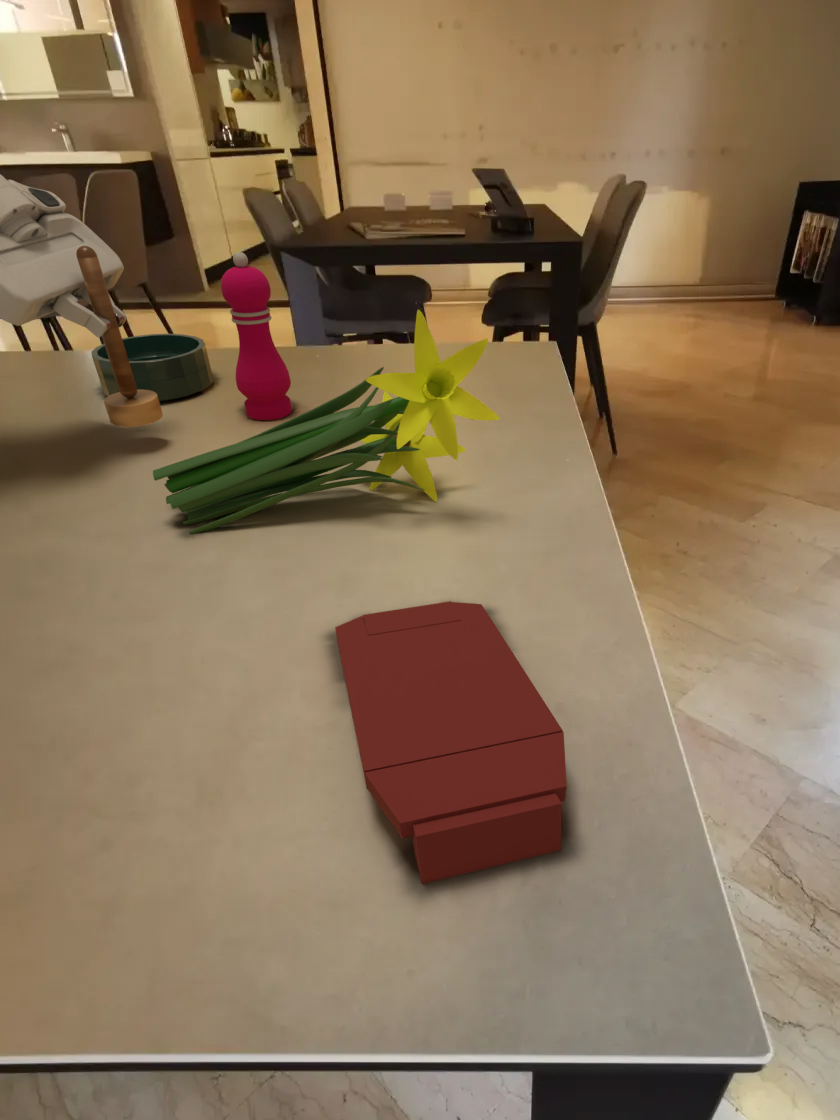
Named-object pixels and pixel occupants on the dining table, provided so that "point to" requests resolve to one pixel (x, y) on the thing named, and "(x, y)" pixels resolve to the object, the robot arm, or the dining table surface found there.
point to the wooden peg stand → (117, 354)
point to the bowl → (160, 365)
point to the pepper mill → (256, 343)
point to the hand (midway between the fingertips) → (114, 327)
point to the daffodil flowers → (337, 441)
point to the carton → (453, 737)
